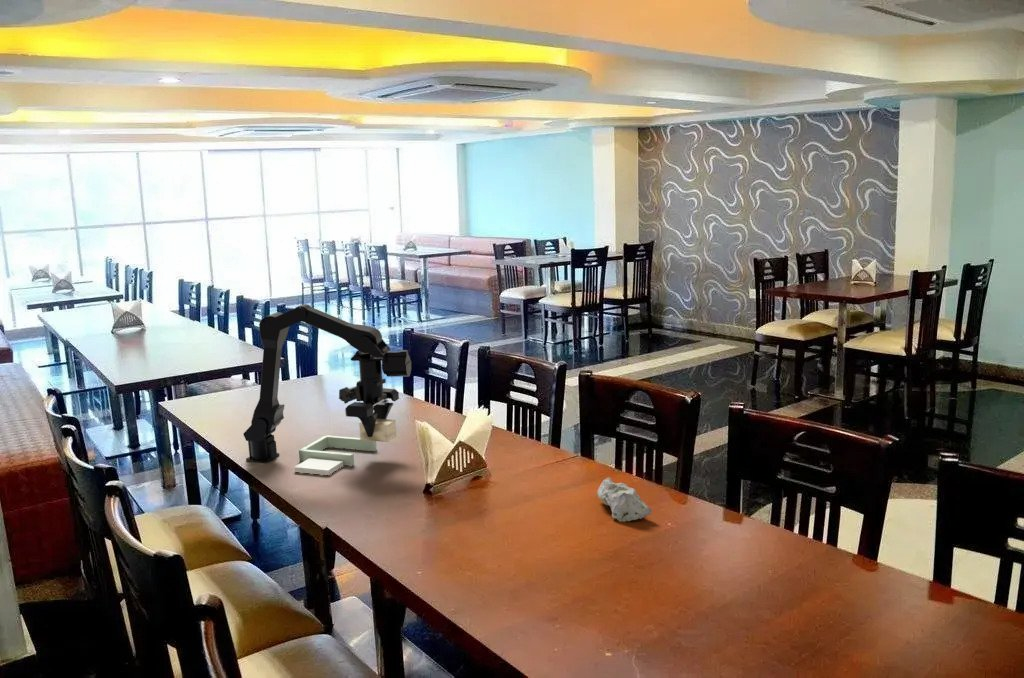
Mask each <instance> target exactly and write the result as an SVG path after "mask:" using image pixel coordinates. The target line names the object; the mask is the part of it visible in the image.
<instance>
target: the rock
mask: <svg viewBox="0 0 1024 678" xmlns="http://www.w3.org/2000/svg"><path fill="white" fill-rule="evenodd" d="M596 495H597V497H598V499H600V500H602V502H603V503H604V505H606V506H609V507H610V510H611V517H612V518H613V519H615V520H617V521H618V522H620V523H621V522H631V521H636V520H642V518H644V517H648V516H650V515H651V514H652V509H651V508H650V507H649V506H648V505H647V504H646V503H645V502H644V501H643V500H642V499H641V497H640V495H638V493H637V489H635V488H633V487H629V486H628V485H627V484H626V483H623V482H617V483H615V482H614V481H613V480H612V478H611V477H606V478H604V479H603V480H602V482H601V484H600V485H599V487H598V489H597V492H596Z"/></svg>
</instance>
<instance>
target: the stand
mask: <svg viewBox="0 0 1024 678" xmlns="http://www.w3.org/2000/svg"><path fill="white" fill-rule="evenodd" d="M341 467H342V468H344V466H343V461H335V460H325V459H314V458H309V459H307V460H305V461H304V462H302V461H301V462H300V463H299V464H297V465H295V466H294V470H293V471H294V473H295V472H300V473H299V474H303V473H310V474H309V475H313V474H321V475H320V476H323V475H330V474H331V473H333V472H334V471H336V470H337V469H339V468H340V469H342V468H341ZM340 469H339V470H340ZM337 471H338V470H337ZM337 471H336V472H337ZM312 473H313V474H312ZM334 473H335V472H334ZM334 473H333V474H334ZM331 475H332V474H331ZM331 475H330V476H331Z"/></svg>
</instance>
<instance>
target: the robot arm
mask: <svg viewBox="0 0 1024 678" xmlns="http://www.w3.org/2000/svg"><path fill="white" fill-rule="evenodd" d="M298 323H305V324H307V325H310V326H312V327H314V328H317V329H318V330H319V329H320V330H322V331H323V332H327V333H328V334H331V335H334V336H336V337H338V338H341V339H342V340H345V342H346V343H348V345H350V346H351V347H352V348H354V349H355V350H356V352H355V353H354V355H353V356H352V357H350V361H351V362H352V361H353V362H356V361H357V362H358V365H359V368H358V369H359V380H358V381H356V384H355V385H356V386H352V387H348V386H345V387H344V388H341V389H339V390H338V391H339V392H338V399H339V400H340V401H341V402H343V404H348V403H349V402H351V401H354V400H356V401H354V402H352V403H350V404H348V405H347V406H346V407H345V409H344V412H345V417H350V418H357V419H359V420H360V423H361V422H362V424H363V426H364V429H365V431H366V433H367V436H368V437H372V435H373V432H374V427H375V423H376V419H388V417H389V414H390V412H391V409H392V407H393V406H394V402H396V401H399V399H400V395H399V394H400V392H399V391H398V390H397V389H396V388H384V384H385V383H386V382H387V381H386V378H384V377H383V375H386V376H387V377H392V378H393V377H410V375H411V374H412V373H411V372H412V360H411V357H410V355H409V350H408V349H403V350H402V349H401V350H392V349H391V348H390V347H389V345H388V344H387V343H386V342H385V340H384V339H383V335H382V333H381V331H380V330H379V329H378V328H376V327H373V326H368V325H365V324H364V325H363V324H356V323H355V324H354V323H351V322H349V321H346V320H343V319H341V318H338V317H336V316H334V315H332V314H329V313H326V312H324V311H322V310H319V309H316V308H314V307H312V306H311V305H309V304H306V303H305V304H304V303H303V304H301V305H299V306H296V307H295V308H294V309H290V310H289V311H286V312H284V313H282V312H280V311H279V312H277V311H276V312H274V313H271V314H269V315H266V316H265V317H263V318H262V319H261V320H259V324H258V327H259V328H258V329H259V338H260V341H261V344H262V347H263V352H262V364H261V365H262V366H261V377H260V389H259V398H258V402H257V403H256V406H255V408H254V410H253V414H252V418H251V421H250V426H249V427H248V428H247V429H246V430H245V431H244V432H243V437H244V439H245V441H247V442H248V443H247V444H248V445H247V446H248V454H249V456H248V457H246V458H245V461H247V462H257V463H268V462H270V461H271V460H273V459H275V458H277V457H278V456H280V453H279V452H278V450H277V442H276V440H275V435H274V434H273V433H275V432H276V429H277V427H278V426H279V425H281V422H282V420H283V419H284V418H285V417H284V409H285V404H280V402H279V399H278V398H279V397H278V395H279V394H278V393H279V386H280V385H279V383H280V370H281V362H282V361H281V359H282V348H283V346H284V343H285V341H286V339H287V337H288V333H289V329H290V327H291V326H294V325H295V324H298ZM388 399H390V400H391V401H392V402H389V400H388Z"/></svg>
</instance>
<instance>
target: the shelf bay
mask: <svg viewBox="0 0 1024 678" xmlns="http://www.w3.org/2000/svg"><path fill="white" fill-rule="evenodd" d="M332 447H335V448H334V449H343V448H345V449H344V450H346V449H347V450H355V449H356V451H368V452H376V451H377V449H378V448H377V441H368V440H360V437H351V436H350V437H349V436H341V435H340V436H338V435H328V434H327V435H324V436H322V437H320V438H318V439H317V440H315V441H313V442H311V443H309V444H308V445H305V446H304V447H302V448H301V449H299V450H298V459H299V462H302V461H305V460H307V459H309V458H314V459H325V460H335V461H343V465H349V466H348V467H353V466H354V465H355V456H354V453H347V452H337V451H327V450H326V449H327V448H332ZM325 448H326V449H325ZM323 449H324V450H323ZM352 465H353V466H352Z"/></svg>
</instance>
